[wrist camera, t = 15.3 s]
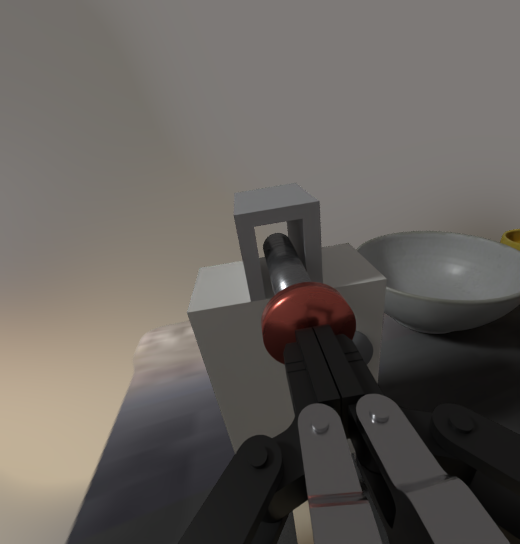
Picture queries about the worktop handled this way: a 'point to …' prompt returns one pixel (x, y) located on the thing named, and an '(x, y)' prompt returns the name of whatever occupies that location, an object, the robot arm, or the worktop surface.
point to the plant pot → (511, 238)
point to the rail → (303, 524)
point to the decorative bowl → (445, 279)
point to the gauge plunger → (298, 300)
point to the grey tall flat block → (254, 297)
